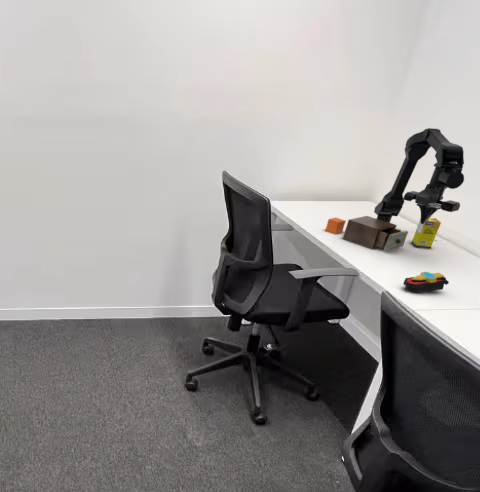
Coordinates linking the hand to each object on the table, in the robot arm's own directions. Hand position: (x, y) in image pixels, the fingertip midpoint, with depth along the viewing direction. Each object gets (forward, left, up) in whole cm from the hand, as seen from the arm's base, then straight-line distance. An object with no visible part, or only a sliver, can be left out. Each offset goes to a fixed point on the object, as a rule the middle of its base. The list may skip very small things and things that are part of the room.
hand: (422, 223), depth 210 cm
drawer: (+4, -11, -11) cm, 16 cm away
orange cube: (+4, -33, -12) cm, 35 cm away
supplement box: (-14, -4, -12) cm, 19 cm away
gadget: (+32, +22, -12) cm, 41 cm away
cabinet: (+3, -18, -12) cm, 22 cm away
